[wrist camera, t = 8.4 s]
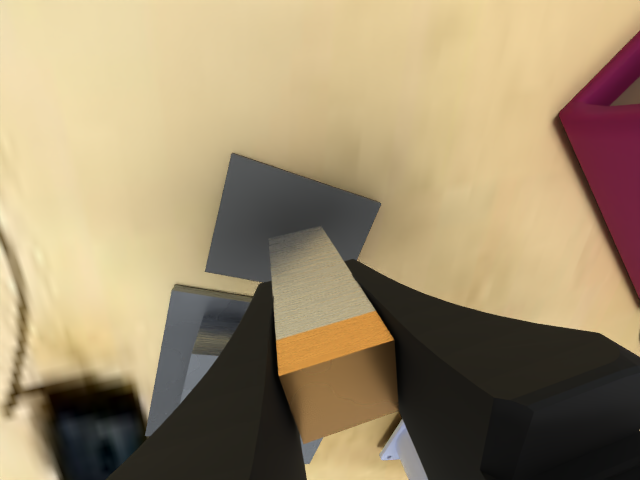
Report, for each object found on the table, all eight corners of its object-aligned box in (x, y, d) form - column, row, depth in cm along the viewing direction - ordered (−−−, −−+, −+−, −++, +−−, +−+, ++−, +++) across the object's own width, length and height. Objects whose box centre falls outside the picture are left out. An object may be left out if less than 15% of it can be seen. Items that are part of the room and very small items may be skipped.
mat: (378, 201, 16) (381, 203, 15) (339, 293, 18) (340, 296, 18) (232, 152, 13) (231, 153, 13) (206, 268, 15) (204, 271, 15)
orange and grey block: (329, 270, 13) (398, 410, 7) (281, 283, 13) (303, 444, 6) (321, 225, 12) (394, 339, 5) (268, 238, 12) (278, 376, 5)
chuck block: (372, 316, 19) (394, 353, 16) (317, 426, 23) (326, 474, 20) (175, 284, 15) (151, 326, 12) (148, 427, 19) (125, 487, 16)
